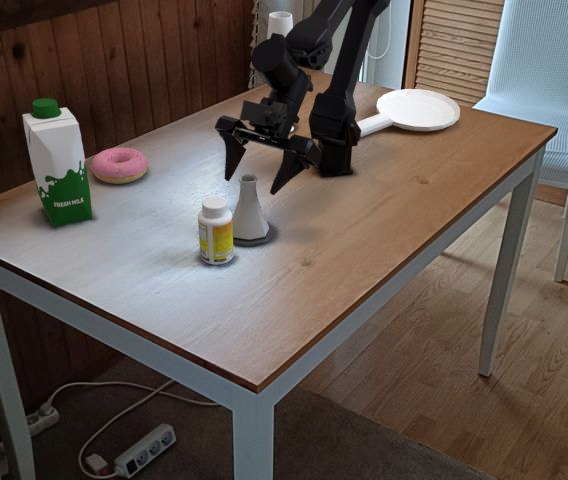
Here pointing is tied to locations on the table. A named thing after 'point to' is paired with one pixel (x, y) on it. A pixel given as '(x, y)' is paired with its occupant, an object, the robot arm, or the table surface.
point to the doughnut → (119, 165)
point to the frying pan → (412, 111)
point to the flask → (249, 211)
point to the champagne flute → (280, 25)
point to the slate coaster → (255, 241)
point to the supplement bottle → (215, 231)
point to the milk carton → (58, 162)
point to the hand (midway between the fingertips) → (248, 187)
